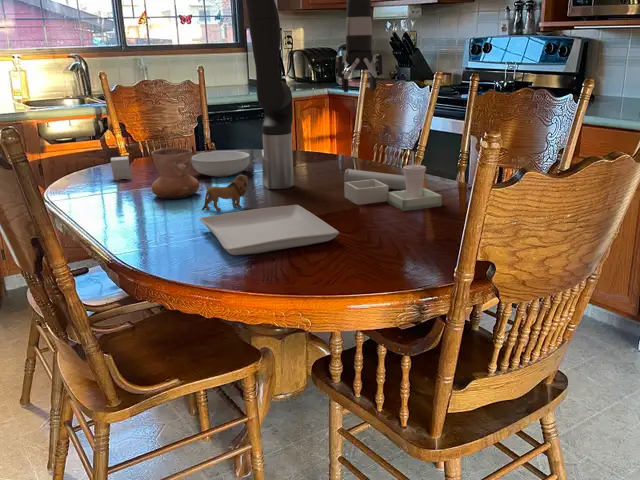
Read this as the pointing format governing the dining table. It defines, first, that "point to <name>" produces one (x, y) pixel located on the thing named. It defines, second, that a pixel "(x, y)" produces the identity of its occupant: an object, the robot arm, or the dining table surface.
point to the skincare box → (120, 168)
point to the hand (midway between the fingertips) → (359, 91)
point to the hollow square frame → (366, 191)
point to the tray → (414, 200)
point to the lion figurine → (227, 192)
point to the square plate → (268, 229)
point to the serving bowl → (220, 163)
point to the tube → (376, 178)
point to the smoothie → (414, 179)
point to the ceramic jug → (174, 173)
